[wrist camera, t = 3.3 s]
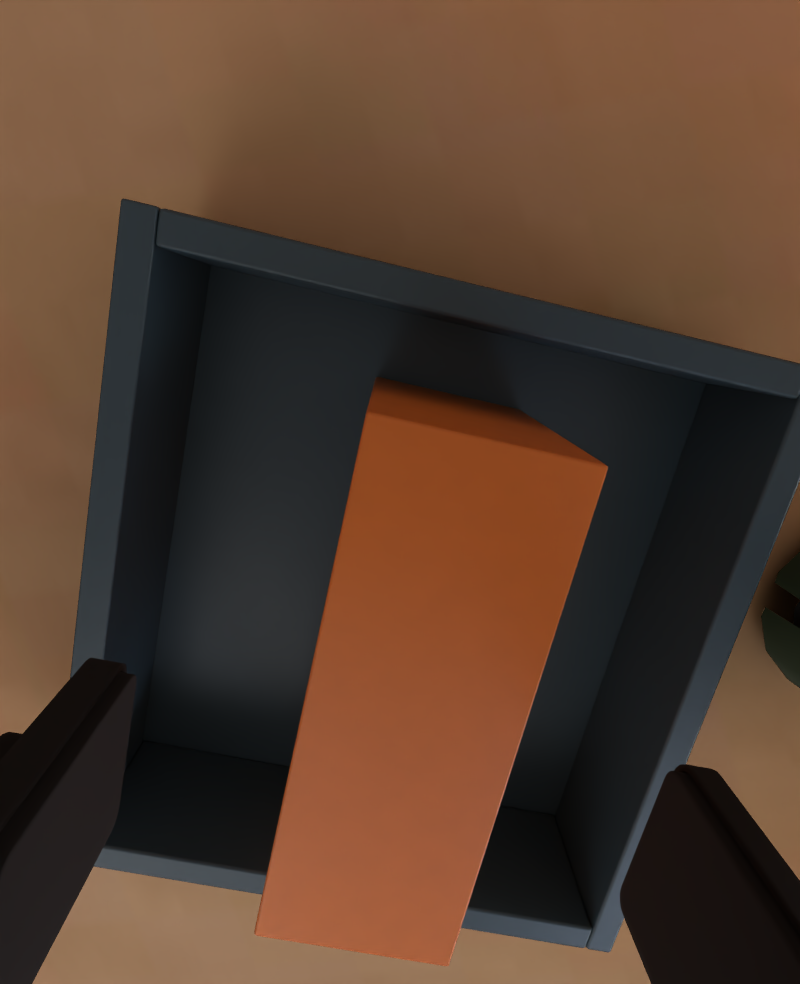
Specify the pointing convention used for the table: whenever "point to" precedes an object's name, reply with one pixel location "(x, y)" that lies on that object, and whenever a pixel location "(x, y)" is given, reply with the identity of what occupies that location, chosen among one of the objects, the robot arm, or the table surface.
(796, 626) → the character mug
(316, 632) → the bin
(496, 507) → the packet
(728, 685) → the table surface
